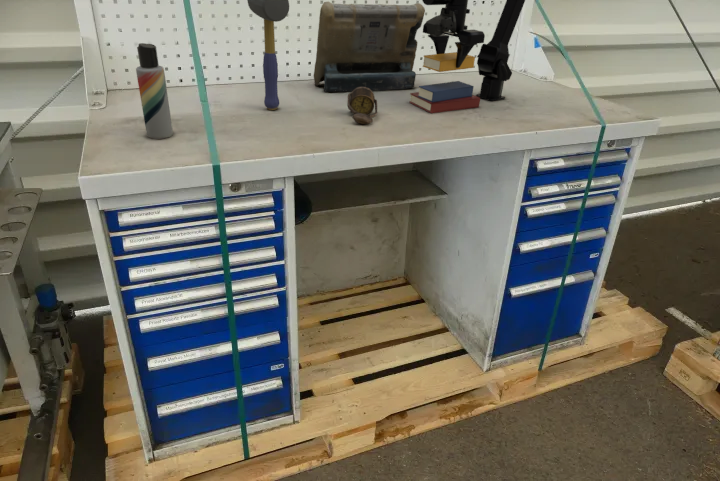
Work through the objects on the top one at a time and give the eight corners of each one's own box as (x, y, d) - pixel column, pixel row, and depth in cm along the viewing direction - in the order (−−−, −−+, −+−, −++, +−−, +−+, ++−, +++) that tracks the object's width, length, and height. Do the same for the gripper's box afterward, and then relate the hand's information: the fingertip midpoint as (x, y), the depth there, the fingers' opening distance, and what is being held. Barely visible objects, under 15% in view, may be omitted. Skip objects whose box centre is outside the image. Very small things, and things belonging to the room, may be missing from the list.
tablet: (401, 78, 178) (408, -3, 165) (421, 89, 167) (431, 3, 155) (310, 84, 166) (310, -3, 153) (326, 96, 155) (327, 4, 143)
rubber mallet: (293, 114, 139) (291, -11, 123) (266, 117, 135) (261, -11, 120) (276, 101, 148) (273, -17, 133) (251, 104, 145) (244, -17, 129)
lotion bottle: (150, 130, 123) (135, 40, 113) (175, 131, 123) (163, 41, 113) (144, 139, 118) (128, 46, 108) (170, 139, 119) (156, 47, 108)
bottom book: (455, 97, 161) (457, 88, 159) (478, 107, 153) (480, 97, 151) (409, 102, 154) (410, 92, 152) (430, 113, 145) (431, 103, 144)
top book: (456, 62, 153) (457, 52, 152) (473, 67, 148) (475, 56, 147) (422, 66, 147) (423, 55, 145) (439, 72, 142) (440, 60, 140)
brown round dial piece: (390, 93, 140) (356, 80, 142) (376, 101, 129) (339, 86, 131) (382, 119, 144) (349, 106, 145) (367, 128, 133) (332, 114, 134)
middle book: (457, 91, 156) (458, 80, 155) (472, 96, 152) (473, 86, 150) (417, 96, 149) (418, 86, 147) (432, 102, 144) (433, 91, 143)
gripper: (410, 0, 142) (405, 60, 150) (459, 10, 129) (450, 75, 137) (441, -1, 147) (434, 57, 155) (490, 8, 134) (480, 71, 142)
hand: (448, 64), depth 147 cm, fingers closed on top book, 7 cm apart
